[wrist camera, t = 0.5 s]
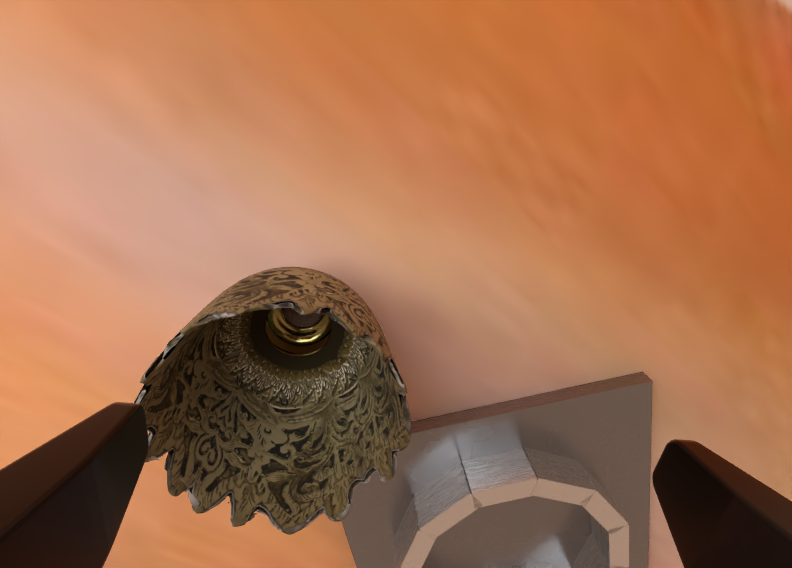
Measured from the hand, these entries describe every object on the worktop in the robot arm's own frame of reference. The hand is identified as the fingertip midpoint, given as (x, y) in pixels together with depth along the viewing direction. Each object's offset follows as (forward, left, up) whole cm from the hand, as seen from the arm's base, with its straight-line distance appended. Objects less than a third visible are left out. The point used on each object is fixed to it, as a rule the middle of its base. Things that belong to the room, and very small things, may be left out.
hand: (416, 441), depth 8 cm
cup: (-4, -2, -12) cm, 13 cm away
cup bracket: (+3, -17, -12) cm, 22 cm away
